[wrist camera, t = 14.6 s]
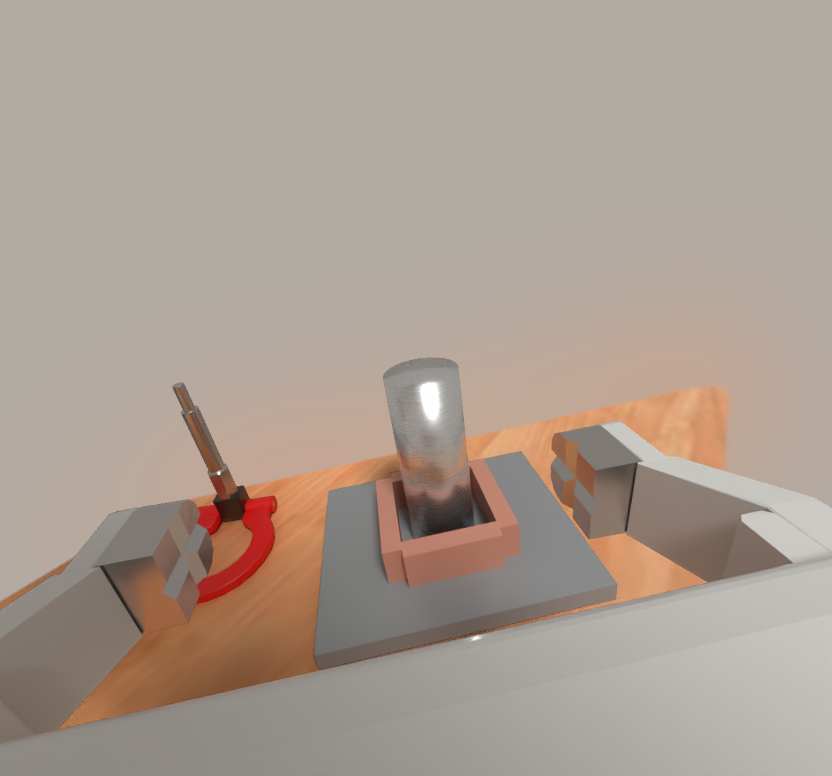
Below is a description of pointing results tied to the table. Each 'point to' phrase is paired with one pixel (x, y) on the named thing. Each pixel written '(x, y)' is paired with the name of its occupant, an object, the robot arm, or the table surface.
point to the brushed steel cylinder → (431, 444)
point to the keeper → (448, 565)
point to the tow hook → (227, 507)
